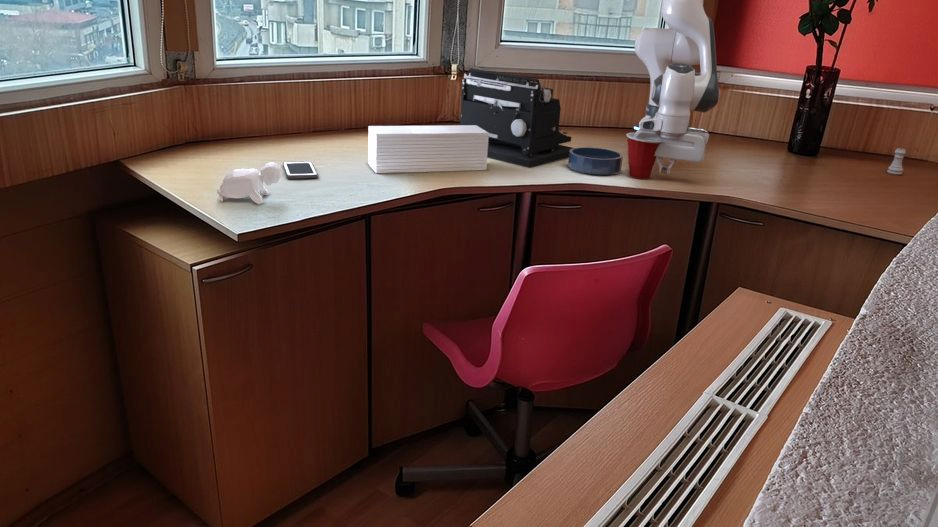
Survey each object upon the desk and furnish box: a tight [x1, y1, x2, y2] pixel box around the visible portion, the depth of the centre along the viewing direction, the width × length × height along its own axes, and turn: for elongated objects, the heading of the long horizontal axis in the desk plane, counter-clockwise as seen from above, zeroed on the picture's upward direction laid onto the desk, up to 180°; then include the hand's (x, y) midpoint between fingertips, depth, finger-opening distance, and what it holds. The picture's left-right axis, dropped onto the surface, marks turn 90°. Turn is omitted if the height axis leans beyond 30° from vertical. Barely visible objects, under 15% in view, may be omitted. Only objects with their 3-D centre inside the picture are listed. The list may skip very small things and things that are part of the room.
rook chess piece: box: [886, 147, 907, 176], centre depth 230 cm, size 4×4×8 cm
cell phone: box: [282, 160, 318, 180], centre depth 191 cm, size 8×15×1 cm, turn 18°
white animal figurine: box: [216, 161, 284, 205], centre depth 166 cm, size 9×8×15 cm
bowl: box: [567, 146, 624, 176], centre depth 212 cm, size 16×16×5 cm
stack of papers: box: [367, 124, 489, 174], centre depth 202 cm, size 32×11×11 cm, turn 109°
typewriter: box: [459, 67, 574, 168], centre depth 225 cm, size 31×27×25 cm
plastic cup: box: [625, 132, 662, 180], centre depth 206 cm, size 11×11×12 cm
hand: (664, 173), depth 205 cm, fingers closed
